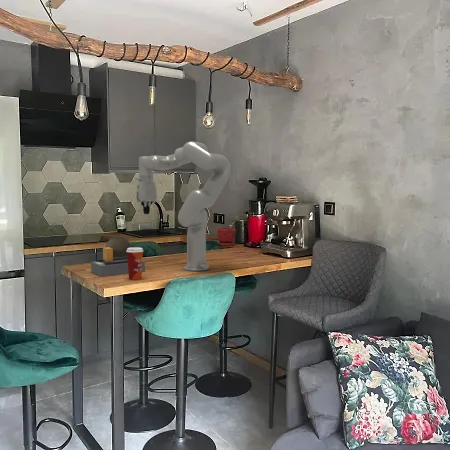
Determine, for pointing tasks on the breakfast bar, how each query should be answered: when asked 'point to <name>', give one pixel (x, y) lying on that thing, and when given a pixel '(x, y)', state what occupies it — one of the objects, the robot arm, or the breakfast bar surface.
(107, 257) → the lever
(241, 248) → the breakfast bar surface
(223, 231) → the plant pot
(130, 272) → the paper cup
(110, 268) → the grey open box
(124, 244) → the cantaloupe
